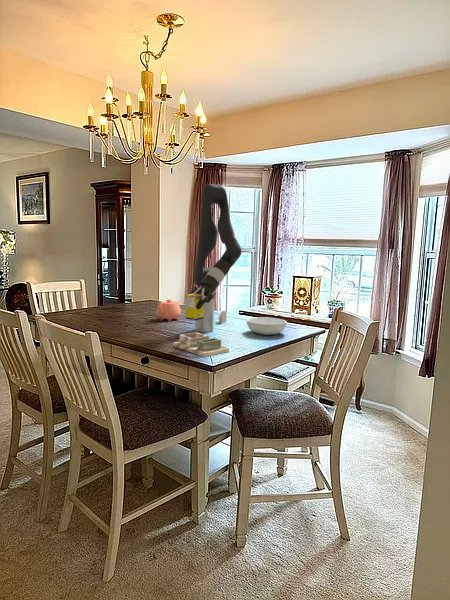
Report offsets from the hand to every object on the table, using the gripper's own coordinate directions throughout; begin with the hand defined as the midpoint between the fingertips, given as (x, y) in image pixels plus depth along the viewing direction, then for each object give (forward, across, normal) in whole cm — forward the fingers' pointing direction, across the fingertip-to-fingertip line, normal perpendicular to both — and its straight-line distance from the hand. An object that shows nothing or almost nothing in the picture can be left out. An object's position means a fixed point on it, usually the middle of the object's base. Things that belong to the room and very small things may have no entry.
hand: (192, 307), depth 184 cm
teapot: (-5, -58, +31) cm, 66 cm away
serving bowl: (-21, 0, +47) cm, 52 cm away
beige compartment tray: (+12, +5, +14) cm, 19 cm away
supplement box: (+3, 0, +5) cm, 6 cm away
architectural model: (-19, -33, +46) cm, 60 cm away
